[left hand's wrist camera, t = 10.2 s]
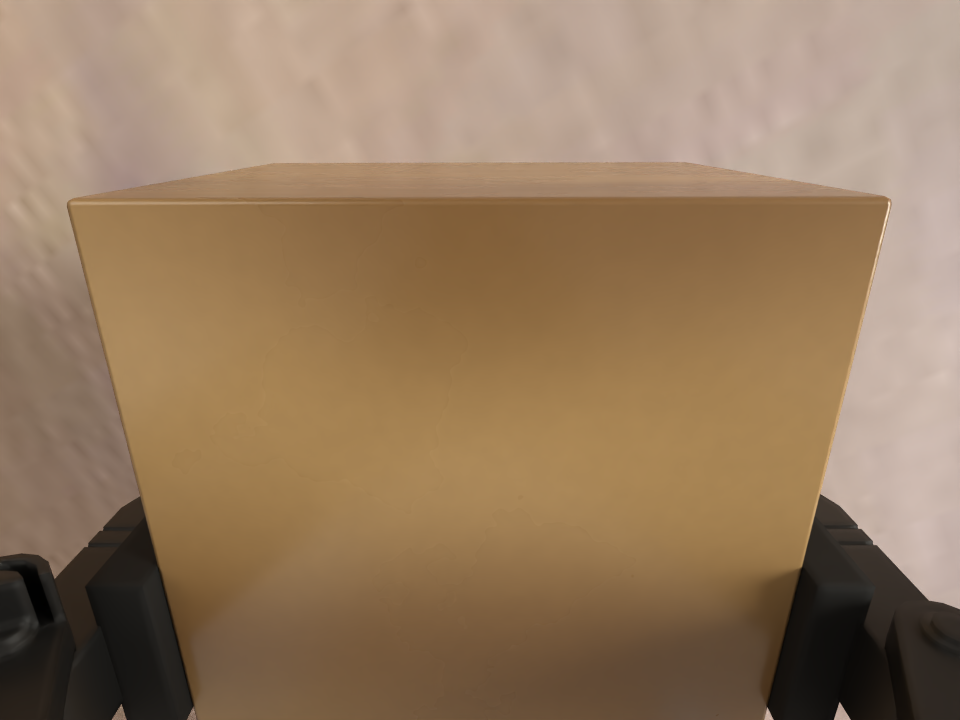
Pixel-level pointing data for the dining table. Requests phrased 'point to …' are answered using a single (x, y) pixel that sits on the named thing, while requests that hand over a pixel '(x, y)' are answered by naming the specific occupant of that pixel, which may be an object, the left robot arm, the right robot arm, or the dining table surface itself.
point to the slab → (479, 428)
